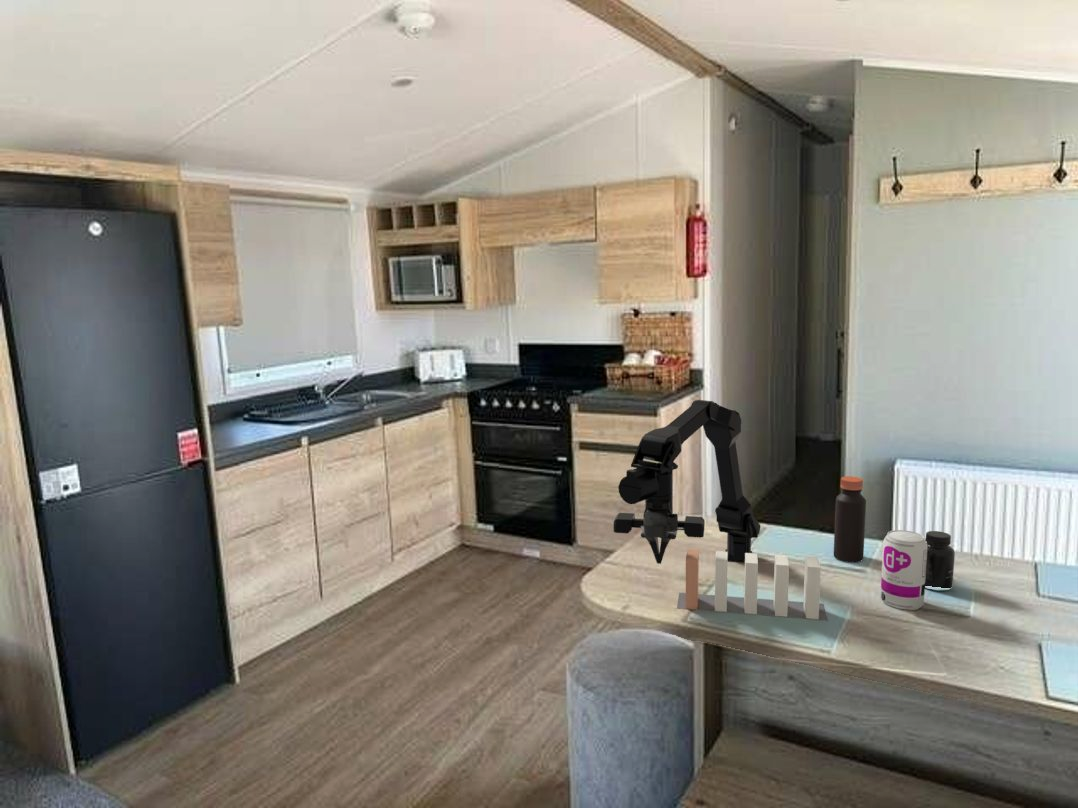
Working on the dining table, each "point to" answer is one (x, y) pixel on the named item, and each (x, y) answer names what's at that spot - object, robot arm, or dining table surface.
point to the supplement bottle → (939, 560)
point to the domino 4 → (811, 587)
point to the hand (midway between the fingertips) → (659, 563)
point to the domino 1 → (721, 581)
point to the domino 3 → (781, 585)
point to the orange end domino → (692, 578)
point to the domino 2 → (750, 583)
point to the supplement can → (903, 569)
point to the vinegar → (850, 521)
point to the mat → (763, 606)
